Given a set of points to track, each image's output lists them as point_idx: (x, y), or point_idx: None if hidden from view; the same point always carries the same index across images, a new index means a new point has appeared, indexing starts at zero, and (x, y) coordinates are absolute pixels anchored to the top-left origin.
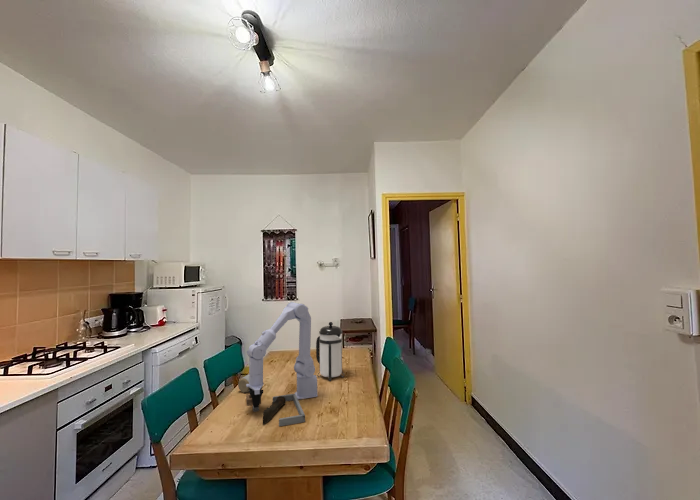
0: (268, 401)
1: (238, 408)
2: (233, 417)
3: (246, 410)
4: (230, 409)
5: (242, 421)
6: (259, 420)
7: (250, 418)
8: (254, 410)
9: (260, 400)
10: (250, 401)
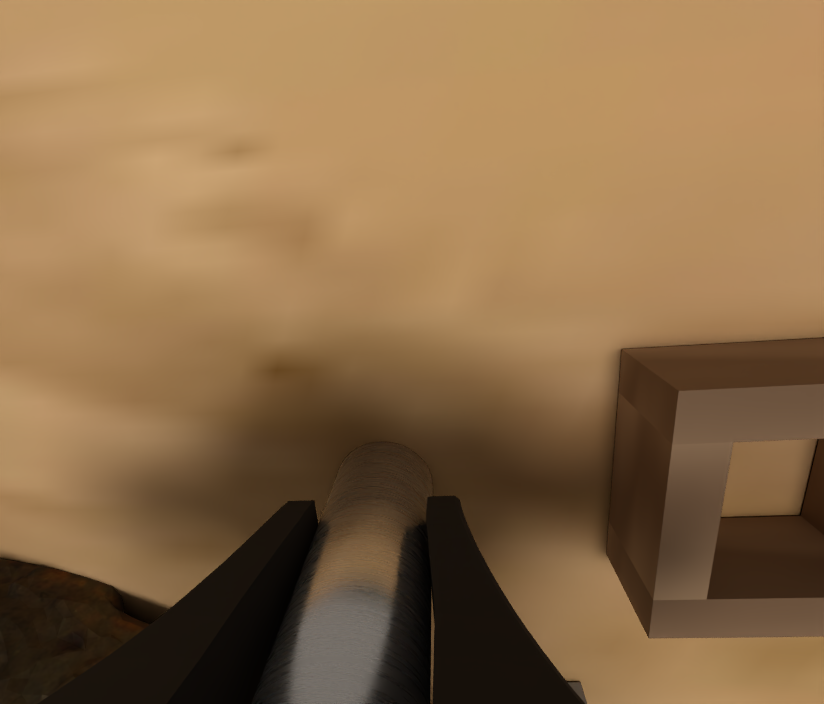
0: (642, 642)
1: (563, 199)
2: (185, 133)
3: (423, 349)
4: (579, 21)
5: (30, 302)
6: (56, 518)
7: (122, 412)
8: (338, 475)
9: (628, 590)
10: (648, 440)
